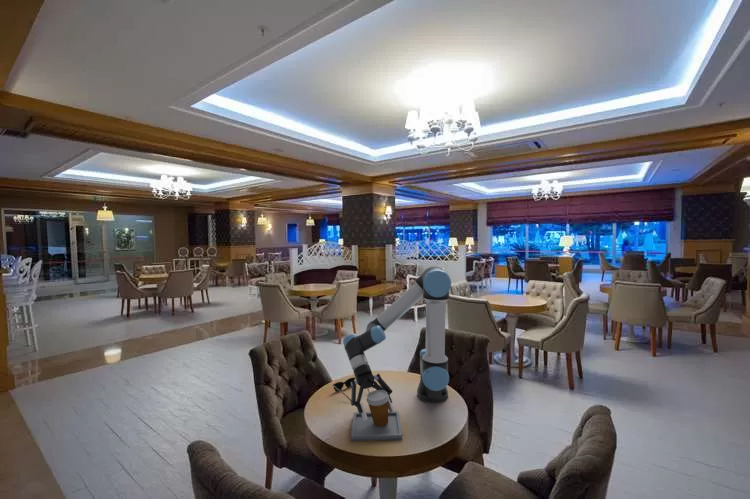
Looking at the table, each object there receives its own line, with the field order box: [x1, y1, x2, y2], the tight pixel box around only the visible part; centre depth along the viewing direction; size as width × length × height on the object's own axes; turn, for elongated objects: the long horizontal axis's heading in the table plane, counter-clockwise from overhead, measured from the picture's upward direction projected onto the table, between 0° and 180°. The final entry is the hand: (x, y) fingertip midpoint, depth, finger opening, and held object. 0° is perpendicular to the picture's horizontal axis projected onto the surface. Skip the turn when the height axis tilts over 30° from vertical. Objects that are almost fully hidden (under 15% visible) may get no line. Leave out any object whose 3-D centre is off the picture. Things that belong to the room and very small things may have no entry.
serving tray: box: [350, 410, 403, 442], centre depth 147 cm, size 20×18×2 cm
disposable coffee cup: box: [365, 389, 389, 426], centre depth 149 cm, size 10×10×12 cm
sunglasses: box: [332, 376, 371, 402], centre depth 179 cm, size 14×16×5 cm
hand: (379, 416), depth 145 cm, fingers open, 12 cm apart
